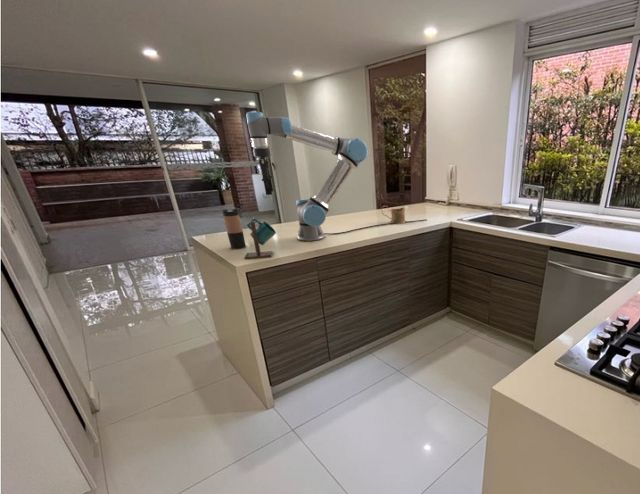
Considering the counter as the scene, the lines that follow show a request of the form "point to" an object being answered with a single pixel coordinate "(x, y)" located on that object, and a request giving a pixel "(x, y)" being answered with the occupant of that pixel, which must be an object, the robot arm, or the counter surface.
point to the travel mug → (234, 228)
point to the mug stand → (257, 246)
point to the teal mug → (262, 231)
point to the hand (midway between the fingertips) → (269, 193)
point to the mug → (397, 215)
